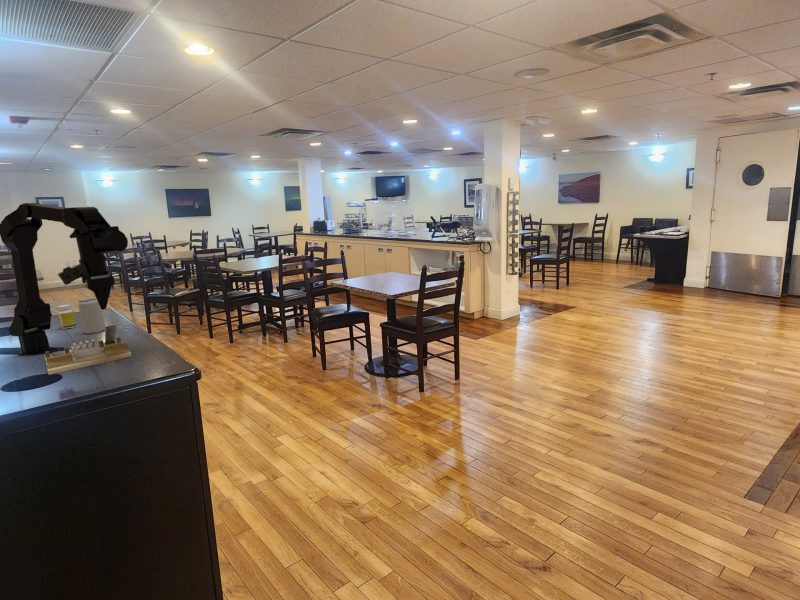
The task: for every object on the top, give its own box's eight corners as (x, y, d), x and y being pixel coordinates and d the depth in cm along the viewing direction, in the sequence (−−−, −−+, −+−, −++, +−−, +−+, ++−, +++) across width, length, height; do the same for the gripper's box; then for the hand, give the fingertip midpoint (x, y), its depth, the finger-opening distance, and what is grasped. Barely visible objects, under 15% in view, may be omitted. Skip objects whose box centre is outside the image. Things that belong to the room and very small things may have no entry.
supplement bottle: (79, 326, 177) (75, 304, 175) (67, 329, 173) (62, 307, 171) (70, 326, 179) (65, 304, 177) (58, 329, 174) (53, 307, 173)
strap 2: (105, 345, 142) (104, 342, 142) (115, 343, 144) (114, 340, 144) (105, 329, 133) (104, 325, 134) (116, 327, 135) (115, 323, 135)
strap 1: (51, 355, 134) (50, 351, 134) (63, 353, 136) (62, 349, 136) (53, 363, 125) (52, 358, 125) (66, 360, 127) (65, 356, 127)
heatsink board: (45, 358, 137) (41, 345, 136) (119, 342, 148) (117, 330, 148) (48, 374, 122) (45, 359, 121) (131, 356, 133) (129, 342, 132)
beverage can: (95, 334, 162) (88, 300, 160) (79, 334, 163) (72, 300, 161) (110, 329, 168) (103, 296, 166) (94, 329, 170) (88, 296, 167)
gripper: (54, 256, 133) (67, 310, 136) (57, 259, 118) (71, 320, 121) (101, 251, 139) (111, 303, 142) (109, 253, 125) (121, 311, 128)
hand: (103, 309), depth 133 cm, fingers closed
